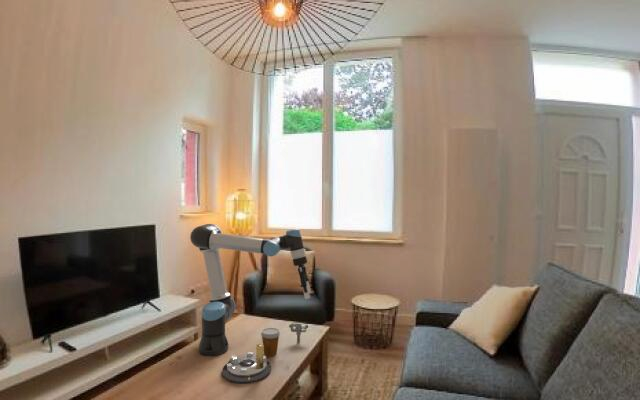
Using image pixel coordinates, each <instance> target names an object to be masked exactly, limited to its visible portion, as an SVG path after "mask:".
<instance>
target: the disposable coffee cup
mask: <svg viewBox="0 0 640 400" xmlns="http://www.w3.org/2000/svg"><path fill="white" fill-rule="evenodd" d="M280 334H281V332H280V330H279V329H278V328H277V327H276V328H275V327H268V328H264V329H262V331H261V332H260V336H261V337H262V339H261V340H262V344H263V345H264V355H265V356H266V357H267V358H268V357H269V358H273V357H275V356H277V352H278V346H279V340H280V339H279V338H280Z"/></svg>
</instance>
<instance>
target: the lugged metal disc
mask: <svg viewBox="0 0 640 400" xmlns="http://www.w3.org/2000/svg"><path fill="white" fill-rule="evenodd" d="M255 351H256V352H255V353H256V354H254V351H247V353H246V354H242V355H236V354H233V355H231V356H230V358H229V361H227V363H226V364H227V372H228V373H229V374H230V375H233V376H236V377H252V376H256V375H259V374H261V373H262V372H264V371H265V370H266V368H267V361H268V360H267V358H268V357H266V356H265V355H264V345H263V343H259V344H256V350H255Z"/></svg>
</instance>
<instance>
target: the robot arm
mask: <svg viewBox="0 0 640 400" xmlns="http://www.w3.org/2000/svg"><path fill="white" fill-rule="evenodd" d="M285 233H286V234H283V235H279V236H276V237H270V238H268V239H264V238H258V237H251V236H250V237H249V236H242V235H234V234H227V233H222V231H221V229H220V227H219V226H218V225H216V224H213V223H207V224H202V225H199V226H196V227H195V228H194V229H192V231H191V233H190V237H189V239H190V242H191V244H192V245H193V246H194V247H196V248H198V249H199V252H200V253H202V254H203V259H204V265H205V269H206V274H207V280H208V284H209V290H210V294H211V295H210V297H209V303H206V304H205V305H203V306H202V309H201V336H200V337H201V338H200V340H199V344H198V347H197V349H198V350H197V353H198V354H200V355H202V356H206V357H207V356H208V357H213V356H219V355H222V354H225V353H226V352H228V350H229V341H228V338H227V335H226V322H227V321H228V320H230V318H232V316H233V315H234V313H235V311H236V303H235V300H234V298H232V294H231V293H230V292H229V291H228V290H227V284H226V278H225V274H224V269H223V265H222V263H223V262H222V258H221V254H220V253H221V252H220V249H224V250H230V251H238V252H239V251H240V252H244V253H245V252H246V253H253V254H262V255H266V256H267V257H275V256H276V255H278V254H279V253H280V252H281V251H284V250H288V249H289V250H290V254H291V259H292V264H293V266H294V267H296V266H297V267H298V268H297V271H298V275H299V281H300V284H301V285H300V288H302V292H303V296H304V300H309V299H311V295H310V294H312V291H311V286H310V283H309V281H310V279H309V278H308V275H307V268H306V266H305V264H307V263H308V259H307V256H306V249H305V247H304V243H303V238H302V235H301V230H300V229H299V228H294V229H290V230H286V231H285Z"/></svg>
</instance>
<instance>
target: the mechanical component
mask: <svg viewBox="0 0 640 400" xmlns="http://www.w3.org/2000/svg"><path fill="white" fill-rule="evenodd" d="M288 327H289V328H290V331H291V332H292V333H295V334H296V336H297V337H296V342H297V343H298V344H300V343H301V335H302V333H306V332H307V329H308V328H309V325H308V324H305V325H304V326H303V325H302V323H294V322H293V323H290V324H288Z"/></svg>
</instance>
